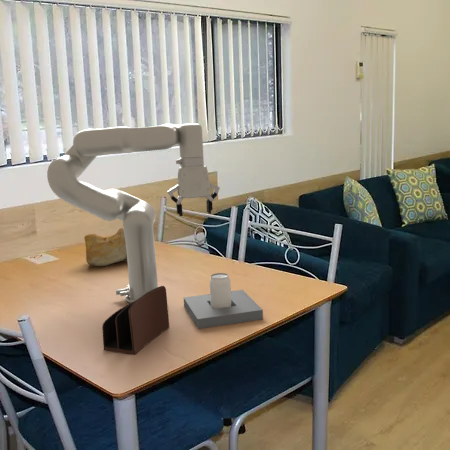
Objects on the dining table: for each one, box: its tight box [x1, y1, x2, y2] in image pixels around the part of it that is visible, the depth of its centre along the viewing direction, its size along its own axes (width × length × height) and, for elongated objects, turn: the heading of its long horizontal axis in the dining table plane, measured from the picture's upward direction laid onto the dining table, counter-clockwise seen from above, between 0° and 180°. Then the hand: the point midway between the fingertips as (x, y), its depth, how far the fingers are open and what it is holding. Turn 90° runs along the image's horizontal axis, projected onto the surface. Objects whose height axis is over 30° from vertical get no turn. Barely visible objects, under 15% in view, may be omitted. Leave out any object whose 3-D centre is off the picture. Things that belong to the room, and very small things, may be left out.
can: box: [209, 272, 232, 309], centre depth 180 cm, size 6×6×12 cm
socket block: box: [183, 289, 264, 329], centre depth 181 cm, size 20×20×3 cm
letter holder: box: [102, 285, 170, 356], centre depth 163 cm, size 10×20×14 cm, turn 157°
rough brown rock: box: [84, 226, 127, 267], centre depth 244 cm, size 23×17×15 cm
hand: (194, 214), depth 191 cm, fingers open, 9 cm apart
